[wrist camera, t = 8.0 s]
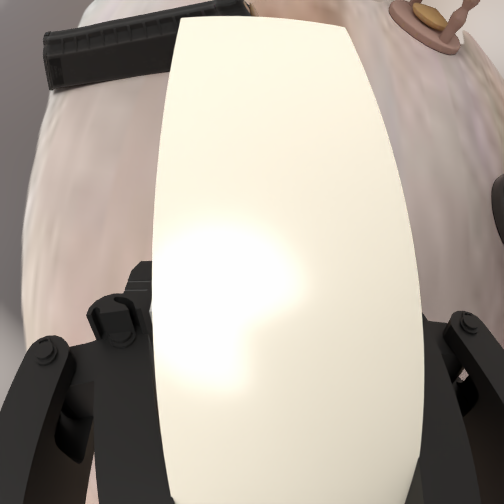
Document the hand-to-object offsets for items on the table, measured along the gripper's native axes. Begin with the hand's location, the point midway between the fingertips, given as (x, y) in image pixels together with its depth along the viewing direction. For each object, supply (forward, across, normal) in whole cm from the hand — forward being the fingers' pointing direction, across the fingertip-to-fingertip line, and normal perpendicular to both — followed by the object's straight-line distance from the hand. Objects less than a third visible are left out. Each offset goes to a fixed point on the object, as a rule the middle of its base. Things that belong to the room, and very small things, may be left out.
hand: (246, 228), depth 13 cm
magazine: (+32, -10, +9) cm, 34 cm away
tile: (0, 0, -5) cm, 5 cm away
